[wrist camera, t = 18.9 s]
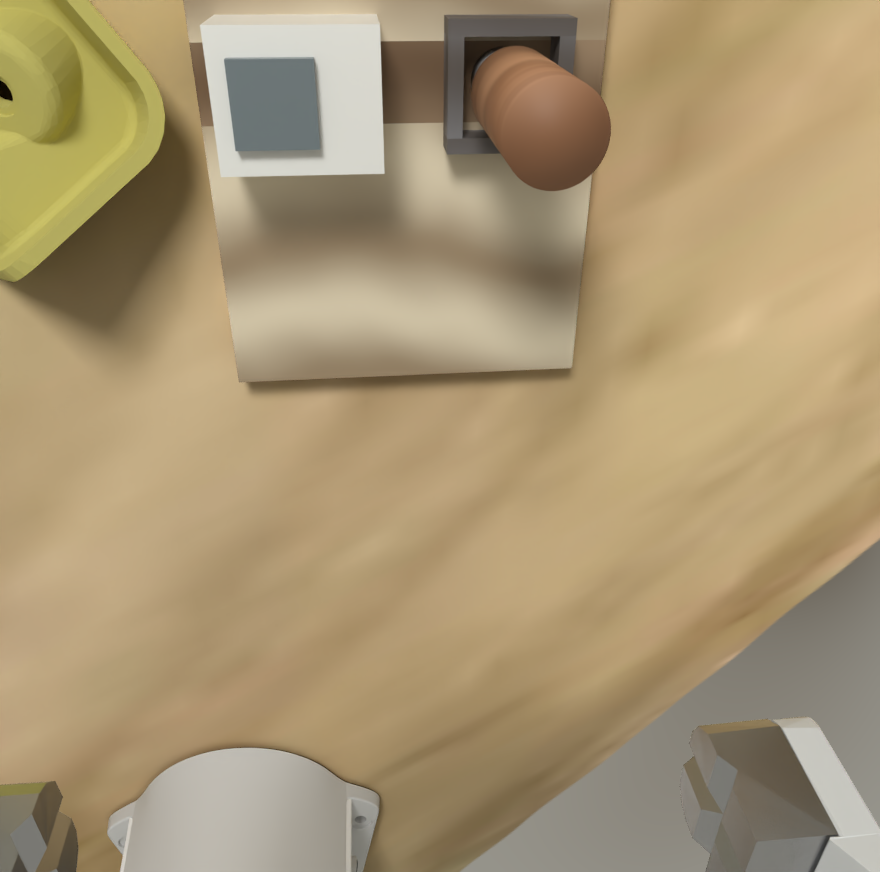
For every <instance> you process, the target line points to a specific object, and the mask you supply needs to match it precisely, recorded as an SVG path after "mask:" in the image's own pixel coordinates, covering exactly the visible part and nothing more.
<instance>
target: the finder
mask: <svg viewBox="0 0 880 872" xmlns="http://www.w3.org/2000/svg"><path fill="white" fill-rule="evenodd" d="M200 29H201V37H202V44H203V51H204V58H205V66H206V73H207V80H208V87H209V95H210V102H211V109H212V116H213V124H214V131H215V138H216V145H217V153H218V160H219V167H220V174H221V177H253V176H301V175H349V174H385V172H384V139H383V107H382V74H381V41H380V23H379V20H378V17H377V14H270V15H213V16H211V17H210V18H209V19H207V20H206V21H205V22H203V23H202V24H201V25H200Z"/></svg>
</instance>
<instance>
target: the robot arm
mask: <svg viewBox="0 0 880 872" xmlns="http://www.w3.org/2000/svg"><path fill="white" fill-rule="evenodd" d="M689 744H690V747H691V749H692V752H693V754H694V757H692V758H691V759H690V760H689V761H687V762H686V763H685V764H684V765H683V770H682V774H681V779H680V788H681V802H682V806H683V811H684V815H685V819H686V822H687V824H688V827H689V830H690V833H691V835H692V838H693V839H694V840H695V841H696V842H697V843H699V844H700V845H701V846H702V847H703V848H704V849H706V850H707V851H708V852H709V853H710V858H709V861H708V865H707V868H706V872H880V827H879V825H878V824H877V822H876V820H875V819H874V817H873V815H872V814H871V812H870V810H869V809H868V807H867V805H866V804H865V802H864V800H863V799H862V797H861V796H860V794H859V792H858V790H857V789H856V787H855V786H854V784H853V782H852V781H851V779H850V777H849V775H848V774H847V772H846V771H845V769H844V767H843V766H842V764H841V762H840V761H839V759H838V757H837V755H836V754H835V752H834V751H833V749H832V747H831V746H830V744H829V742H828V741H827V739H826V737H825V736H824V734H823V732H822V731H821V729H820V727H819V726H818V724H817V723H816V722H815V721H813V720H812V719H811V718H810V717H795V718H786V719H776V720H768V719H762V720H752V721H742V722H733V723H723V724H713V725H703V726H698V727H697V728H696V729H695V730H693V732H692V735H691V739H690V742H689ZM62 798H63V796H62V794H61V792H60V790H59V788H58V786H57V784H56V782H55V781H47V782H33V783H18V784H4V785H0V872H76V867H77V857H78V841H77V832H76V829H75V826H74V823H73V821H72V818H70V817H68V816H66V815H65V814H63V813H61V812H59V808H60V805H61V801H62ZM379 804H380V797H379V795H378V794H377V793H375V792H374V791H371V790H369V789H366V788H363V787H360V786H357V785H353V784H350V783H346V782H344V781H342V780H341V779H339V778H338V777H336V776H335V775H334V774H332V773H331V772H330V771H328V770H327V769H326V768H324V767H323V766H321V765H319V764H317V763H315V762H313V761H311V760H309V759H307V758H304V757H301V756H298V755H295V754H292V753H288V752H284V751H278V750H272V749H263V748H232V749H223V750H217V751H212V752H207V753H203V754H200V755H196V756H193V757H191V758H188V759H185V760H183V761H181V762H179V763H177V764H175V765H173V766H171V767H170V768H168V769H166V770H165V771H164V772H162V773H161V774H160V775H158V776H157V777H156V778H155V779H154V780H153V781H152V782H151V784H150V785H149V786H148V788H147V789H146V790H145V792H144V793H143V794H142V795H141V797H140V798H139V799H137V800H136V801H135V802H133V803H131V804H129V805H127V806H125V807H123V808H121V809H120V810H118V811H116V812H115V813H113V814H112V815H111V816H110V818H109V823H108V830H107V834H108V836H109V838H110V839H111V841H112V842H113V843H114V844H115V846H116V847H117V848H118V850H119V851H120V852H121V854H122V855H123V858H122V864H121V869H120V872H363V870H364V866H365V862H366V859H367V855H368V851H369V847H370V844H371V840H372V836H373V832H374V829H375V825H376V821H377V817H378V814H379Z"/></svg>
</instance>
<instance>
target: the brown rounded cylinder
mask: <svg viewBox="0 0 880 872" xmlns="http://www.w3.org/2000/svg"><path fill="white" fill-rule="evenodd" d="M470 82H471V103H472V108H473V111H474V114H475V116H476V118H477V120H478V121H479V123H480V124H481V126H482V127H483V129H484V130H485V132H486V133H487V135H488V136H489V137H490V139H491V140H492V142H493V143H494V145H495V146H496V148H497V149H498V150H499V152H500V153H501V155H502V156H503V158H504V159H505V161H506V162H507V163H508V165H509V166H510V168H511V169H512V171H513V172H514V173H515V174H516V176H517V177H518V178H519V179H520V180H522V181H523V182H524V183H526V184H527V185H529V186H531V187H533V188H536V189H539V190H544V191H560V190H565V189H568V188H571V187H573V186H575V185H577V184H579V183H581V182H582V181H584V180H585V179H587V178H588V177H589V176H590V175H591V174H592V173H593V172H594V171H595V170H596V169H597V167H598V166H599V164H600V163H601V161H602V160H603V158H604V156H605V153H606V151H607V148H608V145H609V141H610V135H611V124H610V117H609V112H608V110H607V107H606V105H605V103H604V101H603V99H602V98H601V97H600V95H599V94H598V93H597V92H596V91H595V90H594V89H593V88H592V87H590V86H589V85H588V84H586V83H585V82H583V81H582V80H580V79H579V78H577V77H576V76H574V75H572V74H571V73H569V72H568V71H566V70H565V69H563V68H562V67H560V66H559V65H557V64H556V63H554V62H553V61H551V60H550V59H548V58H547V57H545V56H544V55H542V54H541V53H539V52H538V51H536V50H534V49H532V48H529V47H525V46H508V47H496V48H493V49H490V50H488V51H487V52H485V53H484V54H483V55H481V56H480V57H479V59H478V60H477V61H476V63H475V65H474V67H473V70H472V73H471V81H470Z"/></svg>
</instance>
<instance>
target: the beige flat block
mask: <svg viewBox="0 0 880 872" xmlns="http://www.w3.org/2000/svg"><path fill="white" fill-rule="evenodd" d="M183 2H184V9H185V16H186V23H187V29H188V36H189V43H190V50H191V57H192V64H193V71H194V77H195V84H196V91H197V98H198V105H199V112H200V118H201V125H202V132H203V139H204V146H205V153H206V160H207V166H208V173H209V180H210V187H211V194H212V201H213V207H214V214H215V221H216V228H217V235H218V242H219V249H220V255H221V262H222V269H223V276H224V283H225V290H226V297H227V303H228V310H229V317H230V324H231V331H232V338H233V344H234V351H235V358H236V365H237V372H238V379H239V382H258V381H281V380H305V379H328V378H351V377H375V376H398V375H421V374H444V373H468V372H491V371H514V370H537V369H561V368H572V361H573V351H574V342H575V332H576V323H577V313H578V304H579V294H580V285H581V275H582V266H583V256H584V247H585V237H586V227H587V218H588V208H589V199H590V189H591V180H592V174H591V175H590V176H589V177H588V178H587V179H585V180H584V181H582V182H581V183H579V184H577V185H575V186H573V187H571V188H568V189H565V190H560V191H544V190H539V189H536V188H533V187H531V186H529V185H527V184H526V183H524V182H523V181H522V180H520V179H519V178H518V177H517V176H516V174H515V173H514V172H513V171H512V169H511V168H510V166H509V165H508V163H507V162H506V161H505V159H504V158H503V156H502V155H501V153H500V152H499V150H498V149H497V148H496V146H495V145H494V143H493V142H492V140H491V139H490V137H489V136H488V135H487V133H486V132H485V130H484V129H483V127H482V126H481V124H480V123H479V121H478V120H477V118H476V116H475V114H474V111H473V108H472V103H471V82H470V81H471V73H472V70H473V67H474V65H475V63H476V61H477V60H478V59H479V57H480V56H481V55H483V54H484V53H485V52H487V51H488V50H490V49H493V48H496V47H508V46H525V47H529V48H532V49H534V50H536V51H538V52H539V53H541V54H542V55H544V56H545V57H547V58H548V59H550V60H551V61H553V62H554V63H556V64H557V65H559V66H560V67H562V68H563V69H565V70H566V71H568V72H569V73H571V74H572V75H574V76H576V77H577V78H579V79H580V80H582V81H583V82H585V83H586V84H588V85H589V86H590V87H592V88H593V89H594V90H595V91H596V92H597V93H598V94H599V95H600V94H601V84H602V75H603V65H604V56H605V46H606V37H607V27H608V18H609V8H610V0H183ZM270 14H377V17H378V20H379V23H380V41H381V74H382V107H383V139H384V172H385V174H349V175H301V176H253V177H221V174H220V167H219V160H218V153H217V145H216V138H215V131H214V124H213V116H212V109H211V102H210V95H209V87H208V80H207V73H206V66H205V58H204V51H203V44H202V37H201V29H200V25H201V24H202V23H203V22H205V21H206V20H207V19H209V18H210V17H211V16H213V15H270Z"/></svg>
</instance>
